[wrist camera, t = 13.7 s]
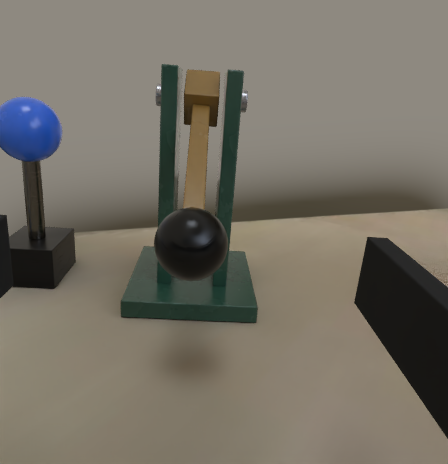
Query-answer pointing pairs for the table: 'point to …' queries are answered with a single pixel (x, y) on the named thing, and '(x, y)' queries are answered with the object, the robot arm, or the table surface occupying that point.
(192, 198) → the switch lever
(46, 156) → the blue knob joystick
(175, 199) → the switch bracket
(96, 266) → the table surface
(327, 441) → the table surface
